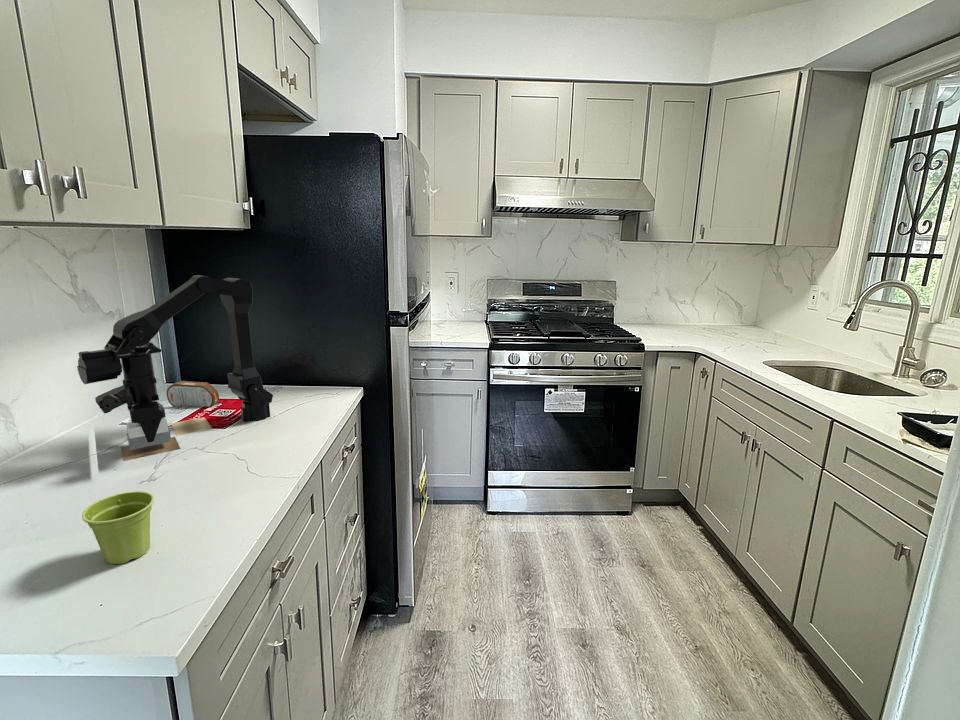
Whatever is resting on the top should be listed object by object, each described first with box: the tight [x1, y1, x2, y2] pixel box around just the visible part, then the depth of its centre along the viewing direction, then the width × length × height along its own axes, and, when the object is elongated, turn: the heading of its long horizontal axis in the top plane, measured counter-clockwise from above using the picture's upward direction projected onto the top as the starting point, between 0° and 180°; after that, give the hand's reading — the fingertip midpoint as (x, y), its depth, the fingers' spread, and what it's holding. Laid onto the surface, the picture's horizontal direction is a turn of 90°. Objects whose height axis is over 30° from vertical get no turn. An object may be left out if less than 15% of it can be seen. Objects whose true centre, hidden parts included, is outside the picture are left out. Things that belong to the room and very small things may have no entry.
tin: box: [166, 380, 220, 408], centre depth 146 cm, size 15×3×8 cm, turn 84°
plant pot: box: [81, 490, 155, 565], centre depth 80 cm, size 9×9×9 cm
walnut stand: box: [120, 436, 182, 462], centre depth 117 cm, size 11×9×2 cm
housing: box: [125, 417, 172, 450], centre depth 116 cm, size 5×8×5 cm, turn 129°
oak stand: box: [170, 416, 213, 436], centre depth 130 cm, size 8×10×2 cm
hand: (149, 438), depth 116 cm, fingers closed on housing, 5 cm apart
